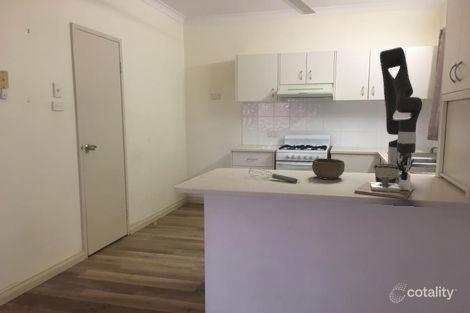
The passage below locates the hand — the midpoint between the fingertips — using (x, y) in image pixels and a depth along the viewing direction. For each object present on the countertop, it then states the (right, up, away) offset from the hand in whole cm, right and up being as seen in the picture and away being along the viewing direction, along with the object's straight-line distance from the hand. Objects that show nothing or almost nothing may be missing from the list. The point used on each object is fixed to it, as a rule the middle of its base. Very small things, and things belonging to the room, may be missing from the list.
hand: (404, 180), depth 163 cm
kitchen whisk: (-56, -2, +36) cm, 67 cm away
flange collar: (-4, -4, +6) cm, 8 cm away
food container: (+2, -4, +25) cm, 25 cm away
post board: (-6, -6, +7) cm, 11 cm away
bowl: (-24, -2, +41) cm, 47 cm away
